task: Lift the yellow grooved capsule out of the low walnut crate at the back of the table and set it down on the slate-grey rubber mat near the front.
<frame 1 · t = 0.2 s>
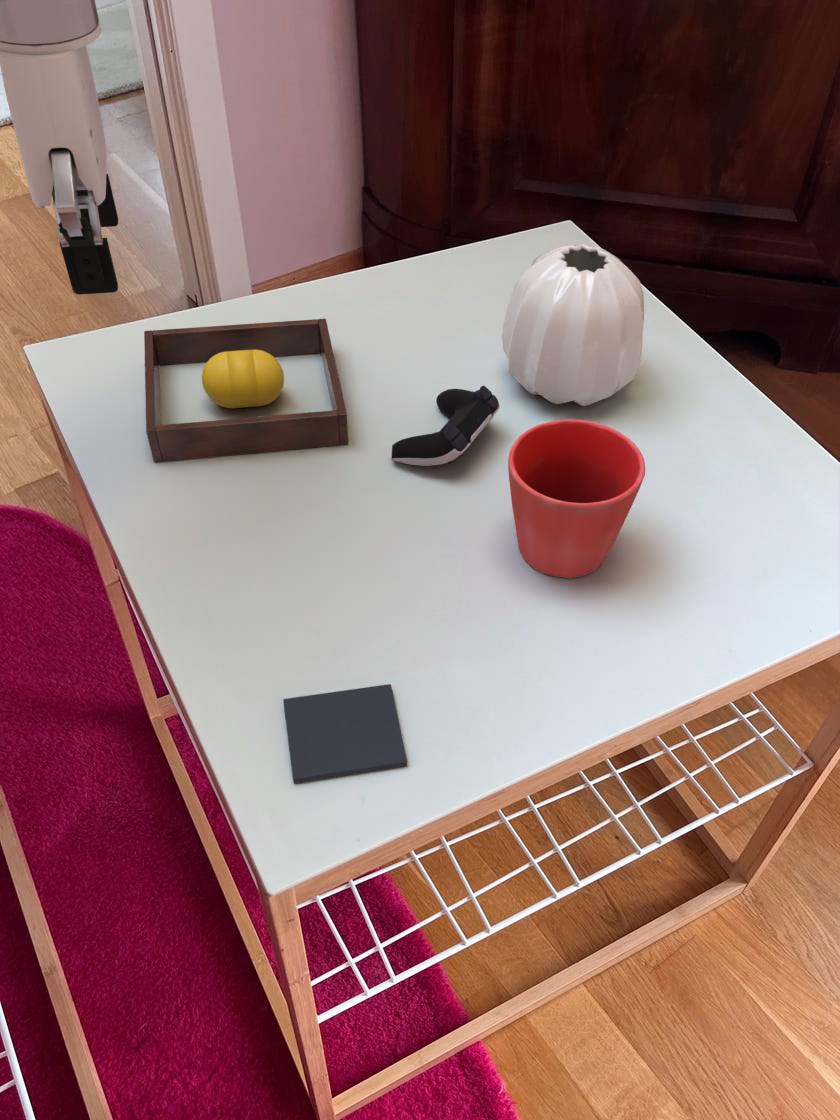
hand: (97, 257, 76), 18 cm above the table, tool pointing down, fingers open, 9 cm apart
flower pot: (561, 548, 85), on the table
yellow grooved capsule: (243, 379, 93), in the crate
mat: (344, 734, 71), on the table
vase: (565, 382, 100), on the table
crate: (246, 401, 95), on the table
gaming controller: (447, 445, 93), on the table
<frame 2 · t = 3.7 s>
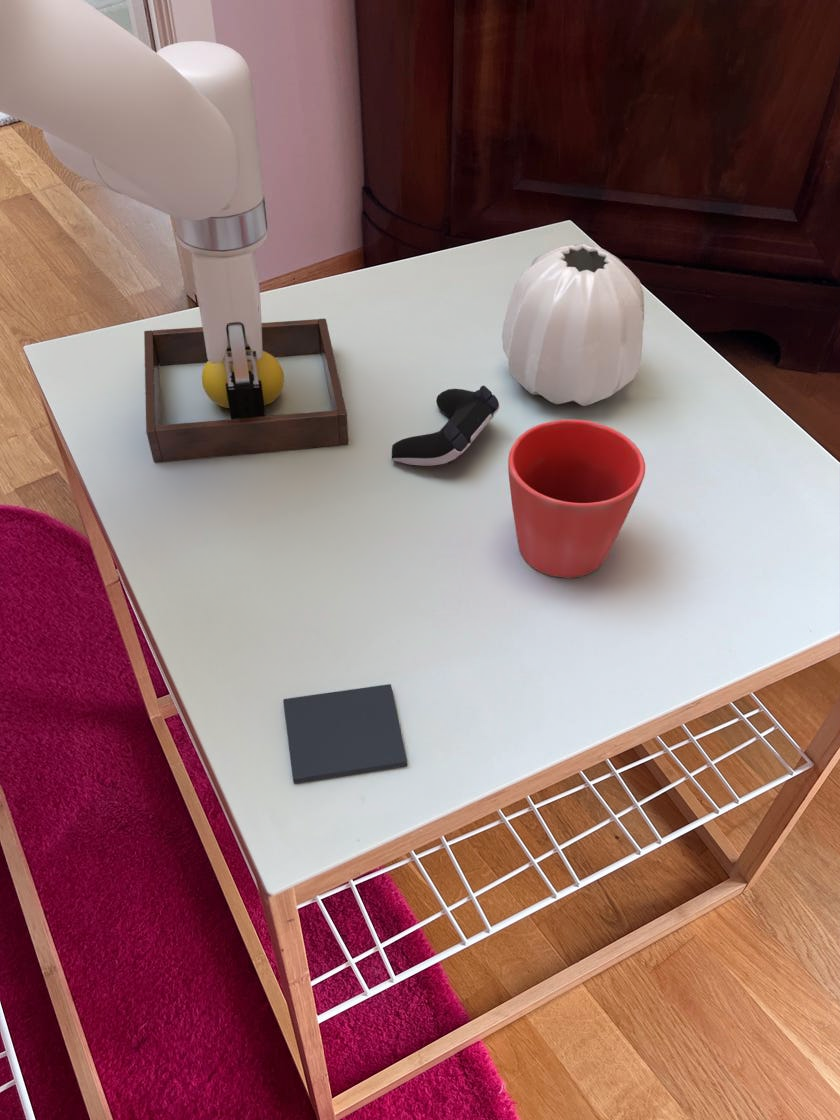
hand: (246, 397, 94), 0 cm above the table, tool pointing down, fingers closed on yellow grooved capsule, 5 cm apart
yellow grooved capsule: (243, 379, 93), in the crate, touching gripper
everything else where it was.
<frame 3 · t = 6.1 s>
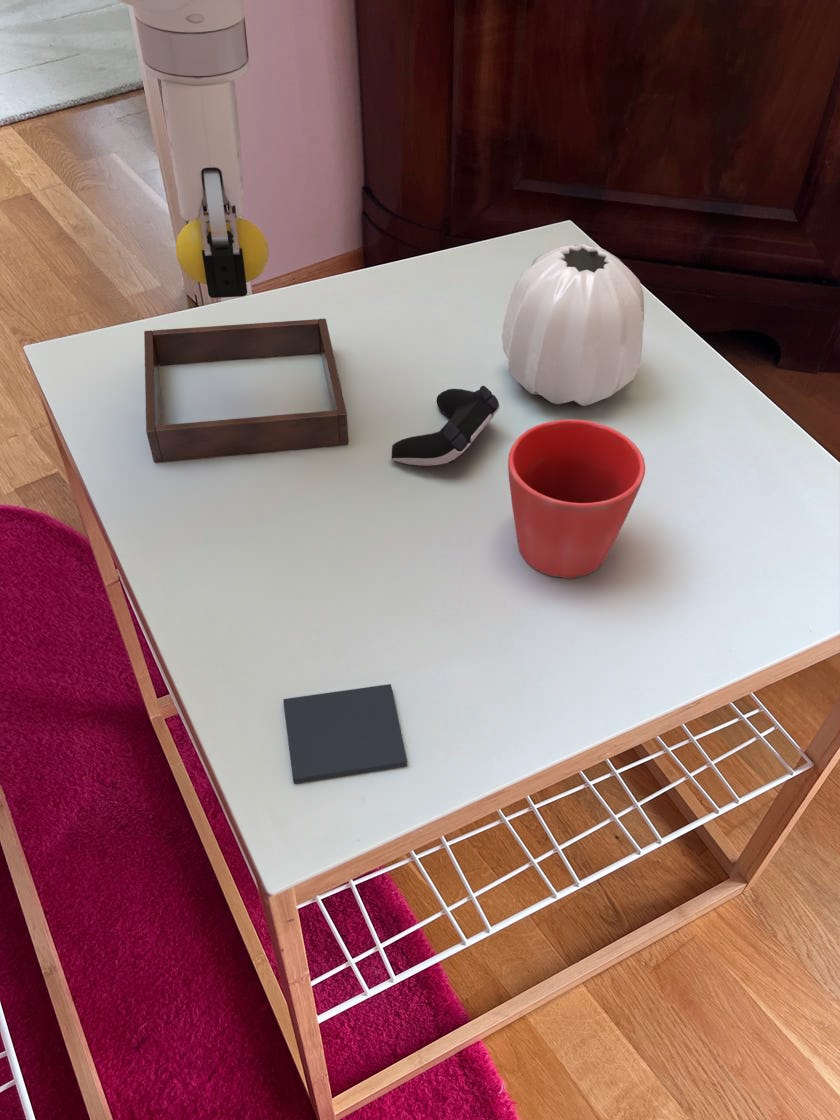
hand: (225, 274, 84), 13 cm above the table, tool pointing down, fingers closed on yellow grooved capsule, 5 cm apart
yellow grooved capsule: (222, 251, 83), point 16 cm above the table, touching gripper
everything else where it was.
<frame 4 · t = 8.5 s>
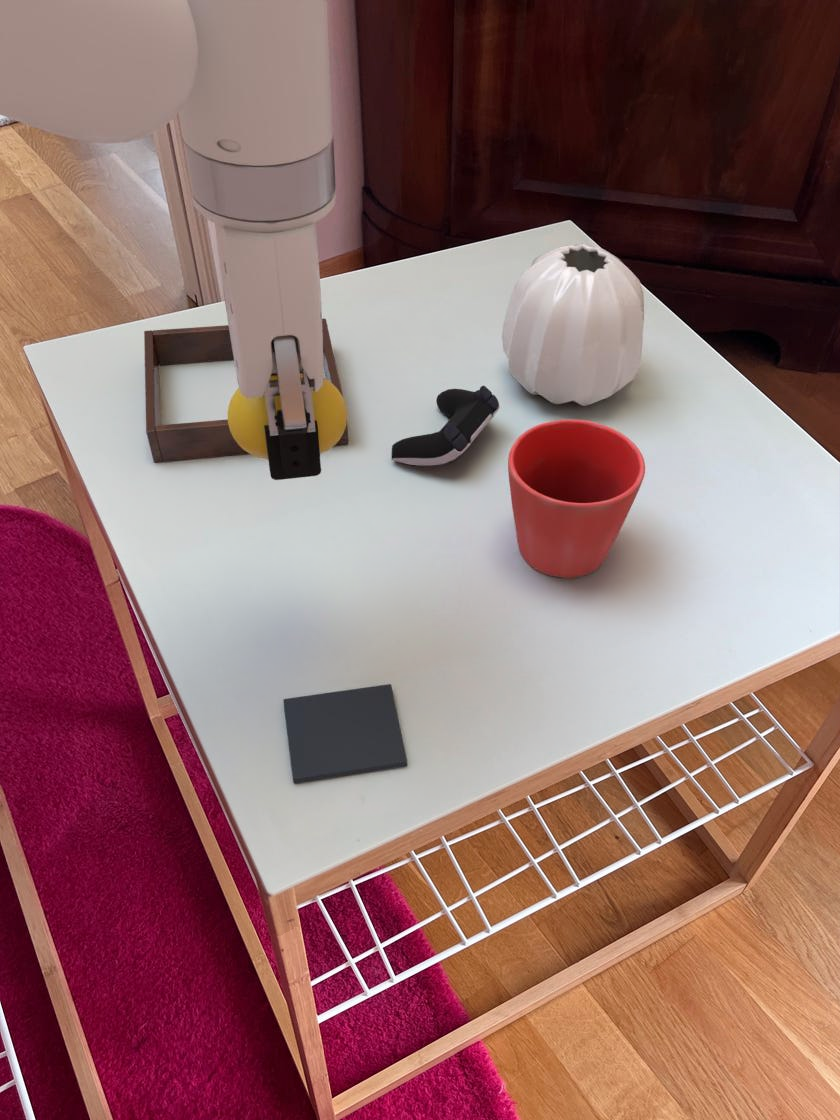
hand: (290, 443, 65), 17 cm above the table, tool pointing down, fingers closed on yellow grooved capsule, 5 cm apart
yellow grooved capsule: (288, 416, 63), point 19 cm above the table, touching gripper
everything else where it was.
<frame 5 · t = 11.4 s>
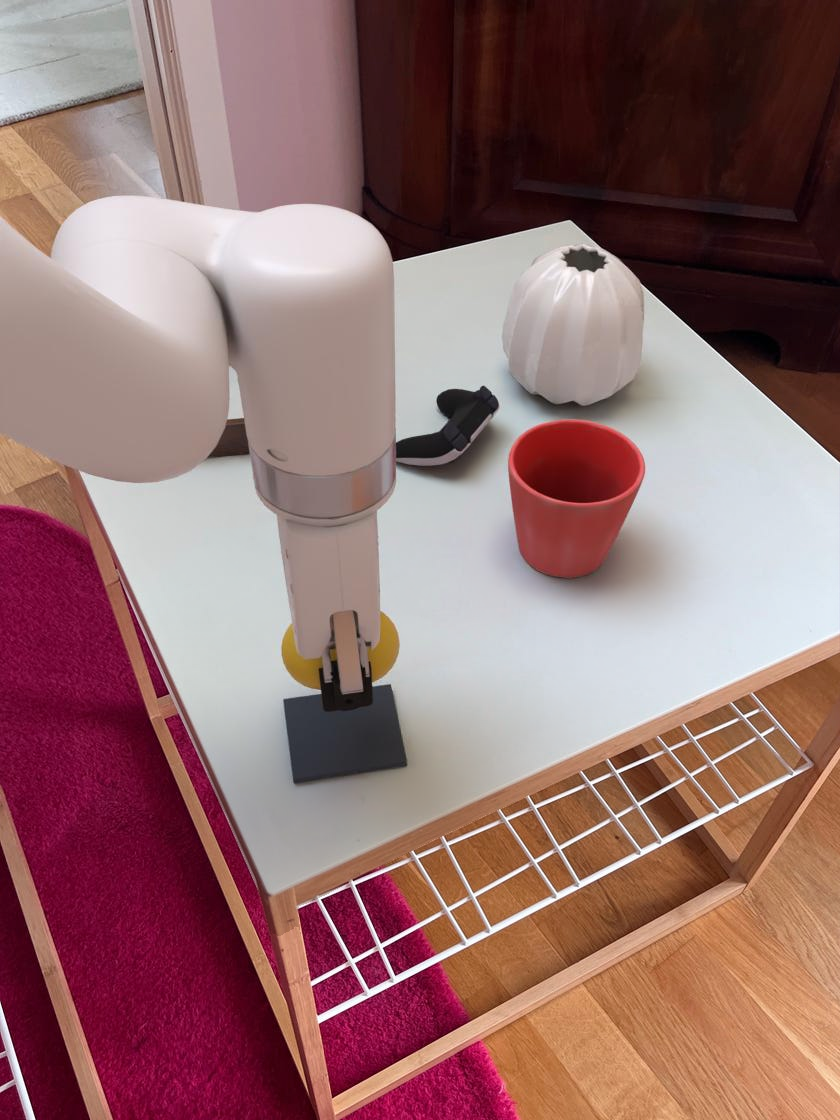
hand: (341, 667, 65), 8 cm above the table, tool pointing down, fingers closed on yellow grooved capsule, 5 cm apart
yellow grooved capsule: (340, 647, 63), point 10 cm above the table, touching gripper
everything else where it was.
when the fingers open (1 cm above the table, at t = 13.5 s): yellow grooved capsule stays where it is, resting on mat.
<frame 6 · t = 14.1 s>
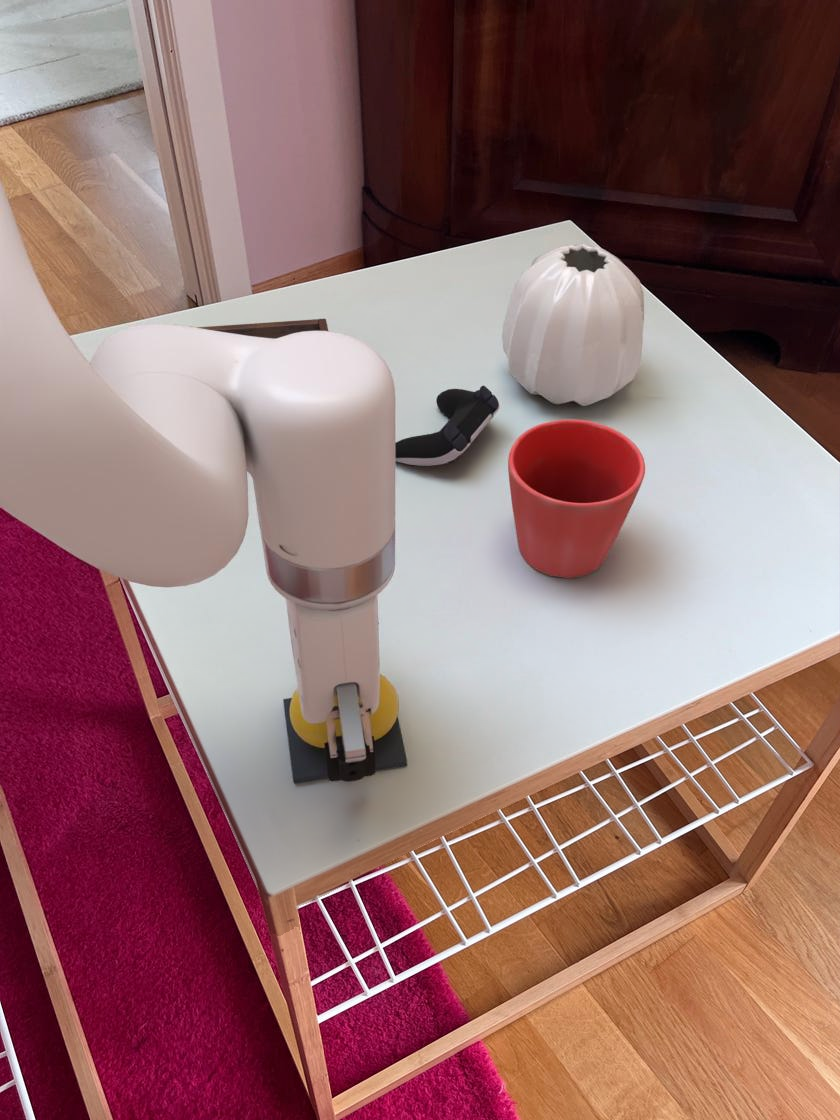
hand: (341, 716, 69), 2 cm above the table, tool pointing down, fingers open, 9 cm apart
yellow grooved capsule: (344, 708, 69), on the mat, point 3 cm above the table
everything else where it was.
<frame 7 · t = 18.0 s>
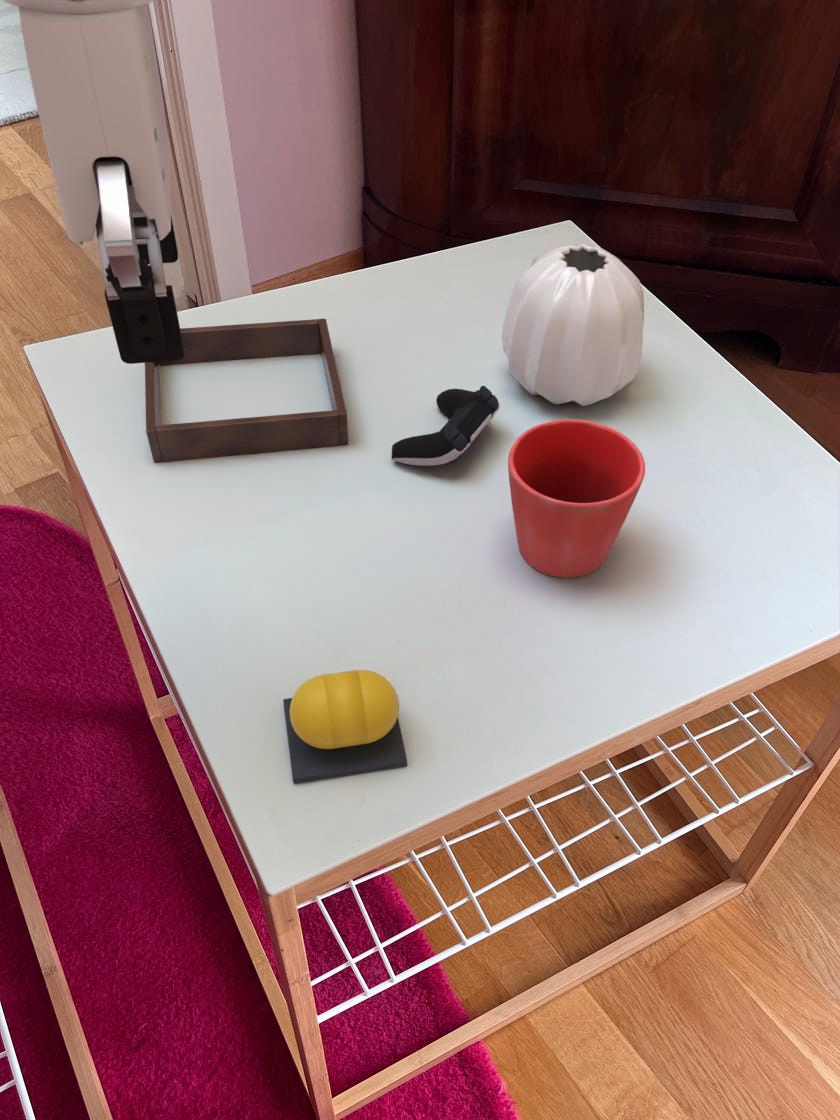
hand: (152, 307, 54), 28 cm above the table, tool pointing down, fingers open, 9 cm apart
nothing on the table moved.
at the end: yellow grooved capsule inside the target area on the mat (0.2 cm from its centre), point 3.2 cm above the mat's base; the gripper is holding nothing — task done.
